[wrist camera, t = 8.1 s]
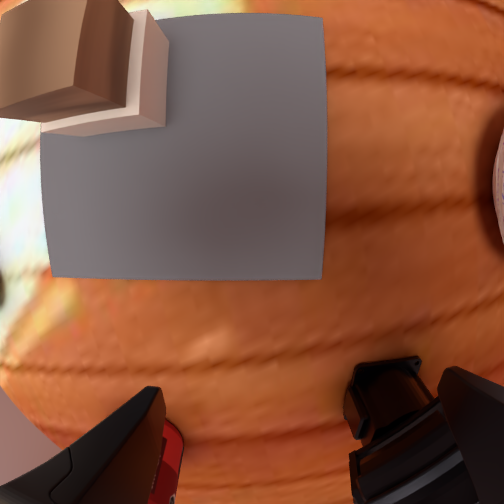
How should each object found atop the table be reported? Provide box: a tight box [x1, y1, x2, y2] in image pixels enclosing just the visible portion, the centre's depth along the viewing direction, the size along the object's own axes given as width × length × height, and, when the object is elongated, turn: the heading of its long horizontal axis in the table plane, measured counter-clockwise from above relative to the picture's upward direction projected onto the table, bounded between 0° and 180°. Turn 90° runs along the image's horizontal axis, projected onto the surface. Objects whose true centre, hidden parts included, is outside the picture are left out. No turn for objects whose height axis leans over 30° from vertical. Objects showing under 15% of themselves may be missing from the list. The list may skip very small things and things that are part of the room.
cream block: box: [41, 9, 169, 137], centre depth 14 cm, size 6×6×5 cm
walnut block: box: [0, 0, 134, 123], centre depth 9 cm, size 5×5×5 cm
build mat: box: [40, 13, 327, 280], centre depth 18 cm, size 20×18×1 cm
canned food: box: [147, 420, 184, 504], centre depth 20 cm, size 8×8×11 cm
